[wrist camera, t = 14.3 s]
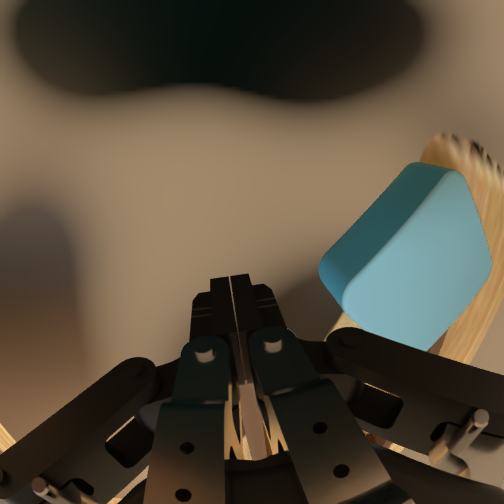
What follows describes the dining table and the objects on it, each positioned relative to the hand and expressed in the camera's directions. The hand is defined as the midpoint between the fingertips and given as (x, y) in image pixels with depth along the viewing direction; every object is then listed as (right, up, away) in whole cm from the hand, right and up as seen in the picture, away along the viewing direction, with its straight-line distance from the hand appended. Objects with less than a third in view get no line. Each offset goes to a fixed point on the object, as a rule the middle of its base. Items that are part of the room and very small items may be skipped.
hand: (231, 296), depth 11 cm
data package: (+9, -4, +8) cm, 13 cm away
